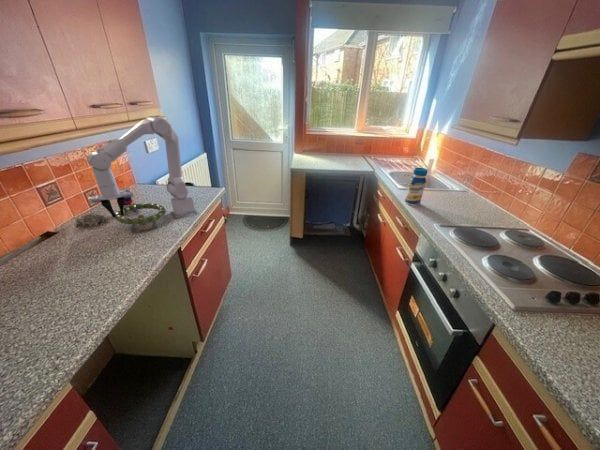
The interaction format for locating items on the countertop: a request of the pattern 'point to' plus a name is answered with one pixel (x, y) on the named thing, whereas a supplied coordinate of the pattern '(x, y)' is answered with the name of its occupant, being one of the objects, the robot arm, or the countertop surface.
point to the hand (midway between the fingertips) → (118, 215)
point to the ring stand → (141, 217)
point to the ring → (140, 220)
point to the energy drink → (128, 200)
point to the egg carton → (93, 220)
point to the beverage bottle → (416, 186)
